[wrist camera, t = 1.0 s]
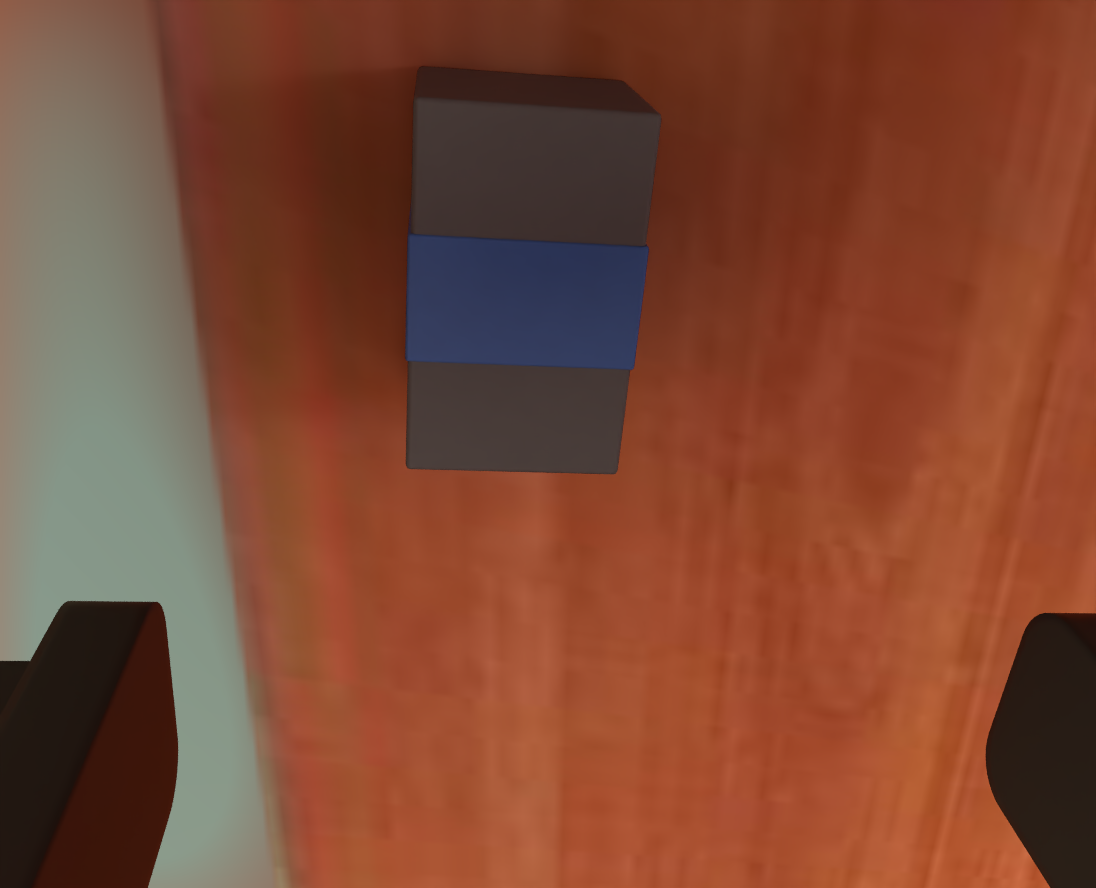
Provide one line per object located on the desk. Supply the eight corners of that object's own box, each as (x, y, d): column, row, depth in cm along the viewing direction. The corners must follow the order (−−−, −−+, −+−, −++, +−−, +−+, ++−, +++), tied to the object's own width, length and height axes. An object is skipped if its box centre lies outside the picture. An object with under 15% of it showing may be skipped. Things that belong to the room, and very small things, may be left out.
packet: (415, 65, 21) (410, 96, 17) (627, 80, 21) (666, 114, 18) (408, 386, 24) (402, 471, 20) (593, 393, 24) (620, 477, 21)
